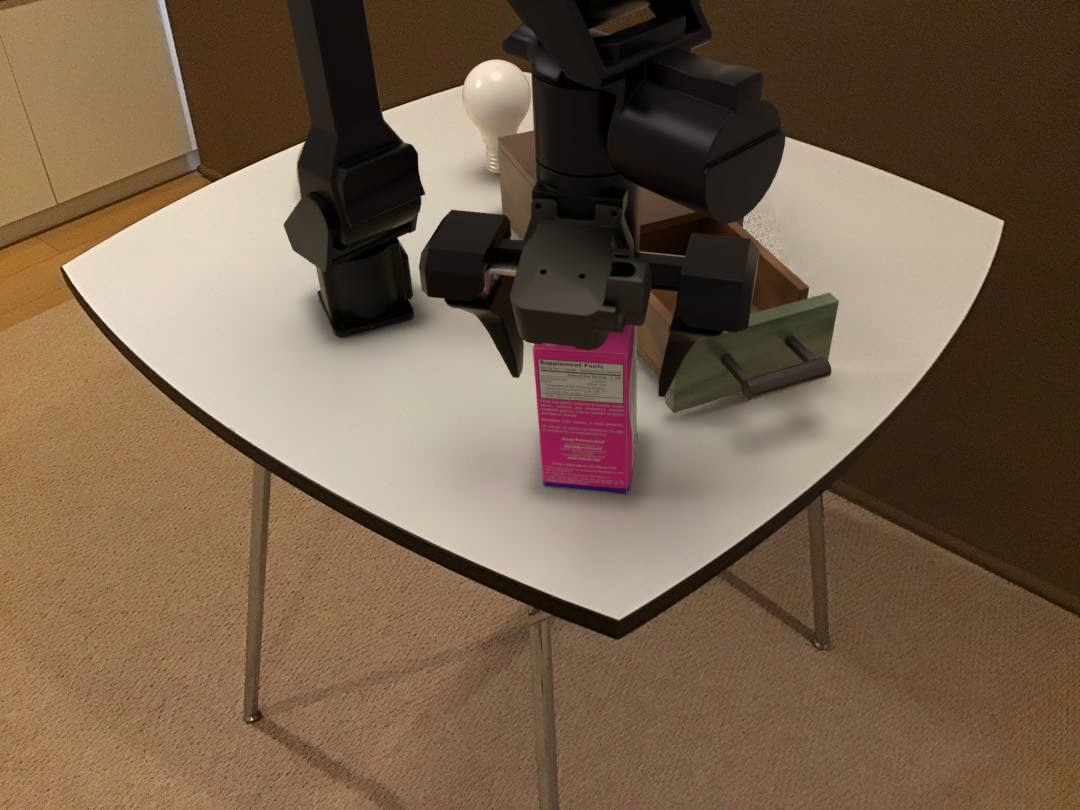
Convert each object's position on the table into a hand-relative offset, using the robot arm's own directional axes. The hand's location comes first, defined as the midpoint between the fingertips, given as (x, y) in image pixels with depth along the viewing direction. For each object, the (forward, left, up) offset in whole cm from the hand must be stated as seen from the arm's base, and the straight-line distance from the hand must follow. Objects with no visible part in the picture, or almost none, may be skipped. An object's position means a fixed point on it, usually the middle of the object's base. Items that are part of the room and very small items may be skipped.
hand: (589, 383), depth 65 cm
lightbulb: (+9, +41, -7) cm, 43 cm away
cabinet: (+13, +24, -7) cm, 28 cm away
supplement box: (0, 0, -7) cm, 7 cm away
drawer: (+13, +8, -6) cm, 16 cm away
